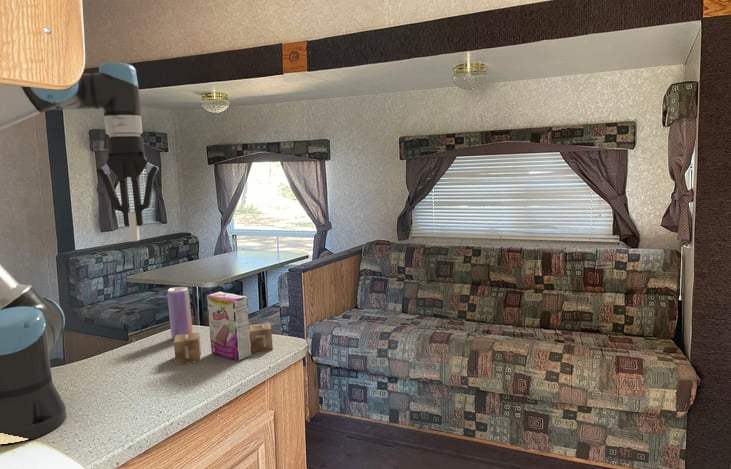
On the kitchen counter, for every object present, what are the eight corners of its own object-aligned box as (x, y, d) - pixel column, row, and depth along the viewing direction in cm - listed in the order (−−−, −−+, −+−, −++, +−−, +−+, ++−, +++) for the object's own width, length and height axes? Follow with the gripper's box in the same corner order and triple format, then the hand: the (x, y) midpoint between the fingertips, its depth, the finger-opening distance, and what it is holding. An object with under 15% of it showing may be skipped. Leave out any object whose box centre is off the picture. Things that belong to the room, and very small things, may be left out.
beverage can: (180, 343, 157) (175, 292, 154) (167, 339, 160) (162, 290, 158) (197, 336, 162) (192, 287, 159) (183, 333, 165) (179, 285, 163)
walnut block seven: (250, 353, 147) (248, 330, 146) (249, 345, 153) (247, 324, 152) (272, 350, 148) (271, 328, 147) (271, 342, 154) (269, 321, 153)
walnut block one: (175, 364, 140) (173, 341, 139) (177, 356, 146) (175, 334, 145) (199, 361, 142) (197, 339, 141) (201, 353, 148) (199, 331, 147)
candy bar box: (210, 354, 147) (205, 295, 145) (224, 348, 151) (220, 290, 149) (238, 361, 140) (233, 300, 138) (252, 355, 145) (248, 295, 142)
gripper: (88, 136, 116) (100, 244, 120) (153, 134, 119) (163, 240, 123) (96, 137, 123) (108, 240, 127) (157, 135, 126) (167, 235, 130)
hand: (135, 240), depth 125 cm, fingers closed
